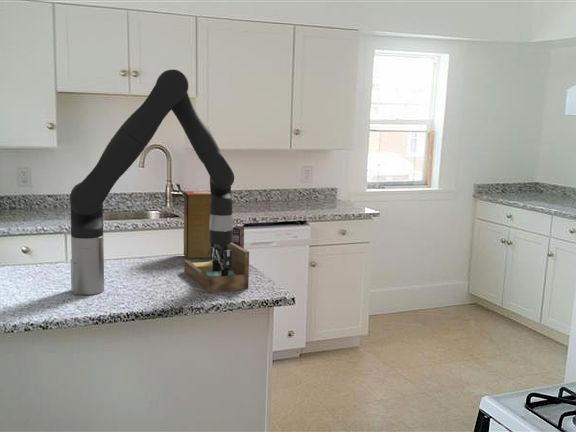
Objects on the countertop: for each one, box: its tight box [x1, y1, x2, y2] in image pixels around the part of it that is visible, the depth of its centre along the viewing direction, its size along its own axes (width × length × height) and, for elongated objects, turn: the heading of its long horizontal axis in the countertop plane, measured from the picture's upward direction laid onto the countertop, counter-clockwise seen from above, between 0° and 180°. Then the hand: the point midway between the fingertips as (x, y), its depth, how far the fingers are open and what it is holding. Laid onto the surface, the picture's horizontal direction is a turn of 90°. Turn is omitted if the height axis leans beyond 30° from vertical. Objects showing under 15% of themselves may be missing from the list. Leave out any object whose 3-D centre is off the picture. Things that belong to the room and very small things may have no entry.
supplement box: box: [232, 223, 245, 249], centre depth 209 cm, size 9×5×16 cm, turn 174°
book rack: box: [183, 242, 250, 293], centre depth 194 cm, size 13×26×12 cm, turn 27°
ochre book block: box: [191, 261, 213, 273], centre depth 203 cm, size 9×6×4 cm, turn 104°
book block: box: [205, 271, 235, 277], centre depth 190 cm, size 9×6×4 cm, turn 108°
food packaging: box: [183, 190, 211, 260], centre depth 226 cm, size 13×9×25 cm
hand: (220, 277), depth 189 cm, fingers open, 7 cm apart
